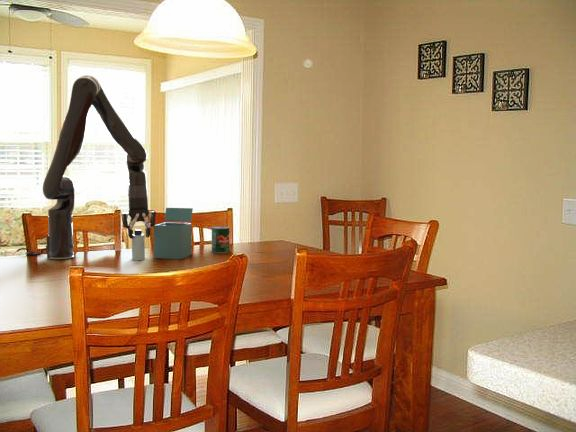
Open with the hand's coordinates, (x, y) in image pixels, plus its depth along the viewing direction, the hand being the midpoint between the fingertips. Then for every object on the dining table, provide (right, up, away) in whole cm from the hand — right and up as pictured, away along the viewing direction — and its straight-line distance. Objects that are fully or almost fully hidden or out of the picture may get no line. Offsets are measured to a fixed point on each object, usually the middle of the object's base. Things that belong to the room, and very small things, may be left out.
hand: (139, 237), depth 244 cm
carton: (+12, -8, +9) cm, 17 cm away
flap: (+13, +9, +14) cm, 21 cm away
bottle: (-1, -9, +1) cm, 9 cm away
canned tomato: (+30, -7, +22) cm, 38 cm away
